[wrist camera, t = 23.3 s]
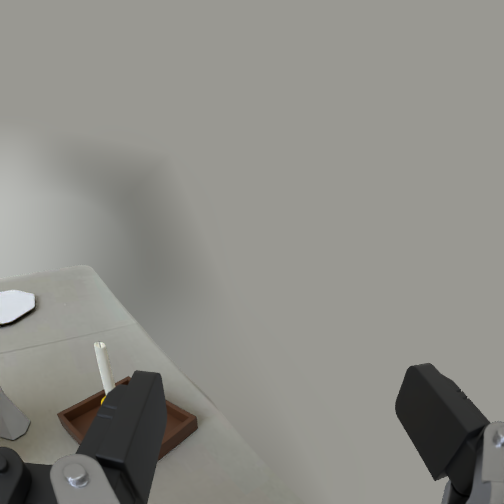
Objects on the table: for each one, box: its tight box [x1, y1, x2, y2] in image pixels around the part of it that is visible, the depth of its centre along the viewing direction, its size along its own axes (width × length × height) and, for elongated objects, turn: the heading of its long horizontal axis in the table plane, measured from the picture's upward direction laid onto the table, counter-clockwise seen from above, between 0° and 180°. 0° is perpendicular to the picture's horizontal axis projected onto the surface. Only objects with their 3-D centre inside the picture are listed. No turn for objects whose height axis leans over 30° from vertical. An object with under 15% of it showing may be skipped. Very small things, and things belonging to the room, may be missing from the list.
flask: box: [0, 387, 30, 440], centre depth 28 cm, size 7×7×10 cm
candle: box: [94, 342, 116, 406], centre depth 34 cm, size 5×5×16 cm
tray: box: [57, 376, 198, 461], centre depth 36 cm, size 16×16×3 cm
